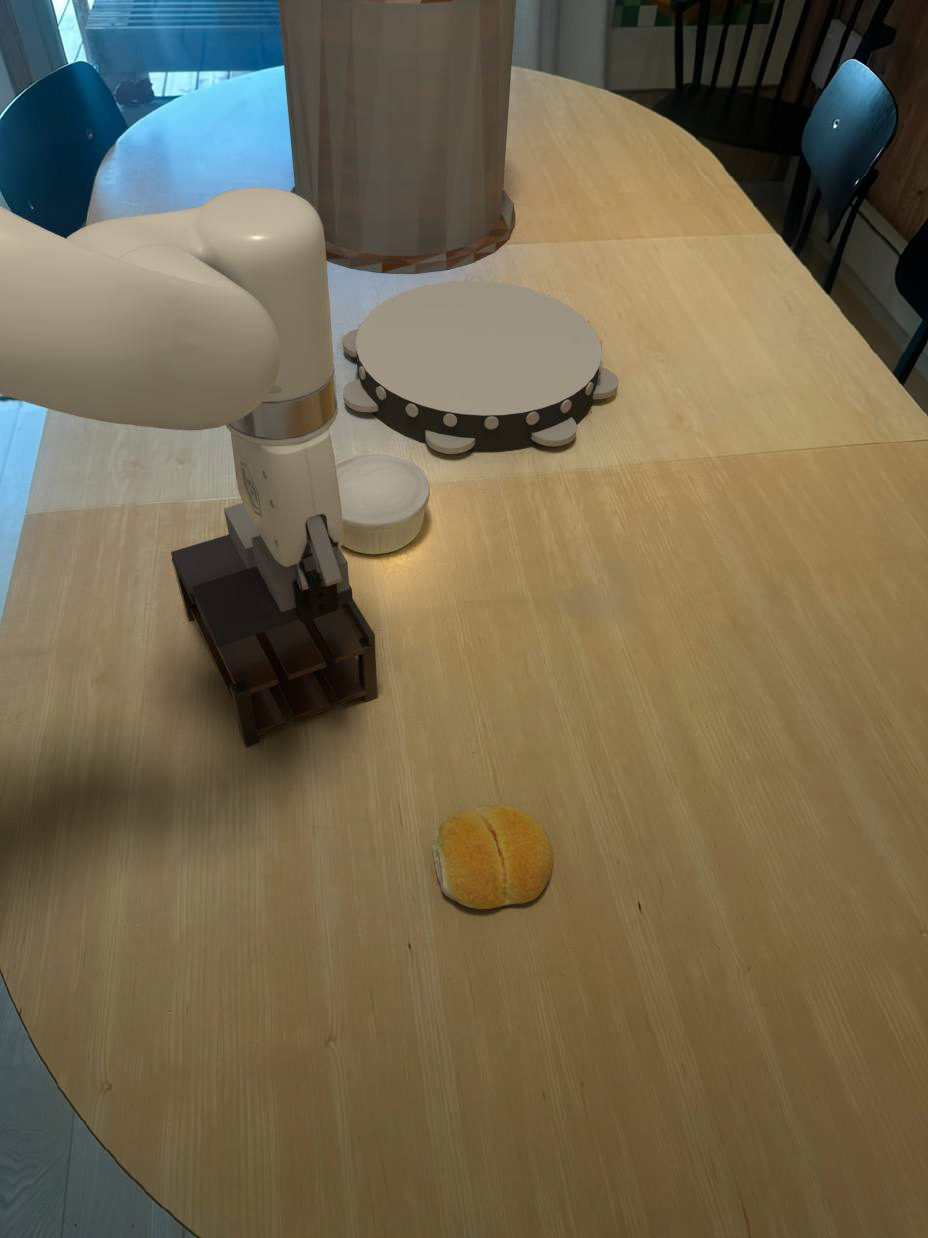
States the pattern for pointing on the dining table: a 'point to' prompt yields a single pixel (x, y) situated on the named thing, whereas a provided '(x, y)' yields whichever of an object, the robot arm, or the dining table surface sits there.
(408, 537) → the ramekin
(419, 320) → the tambourine
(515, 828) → the bread roll
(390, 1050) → the dining table surface
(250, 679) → the rack
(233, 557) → the grey block
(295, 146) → the storage basket
